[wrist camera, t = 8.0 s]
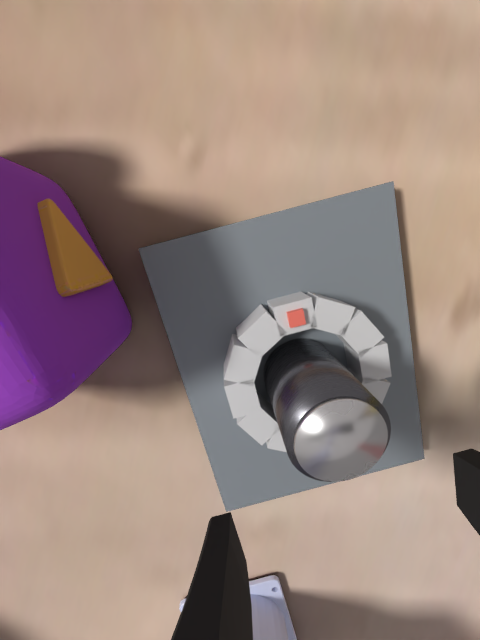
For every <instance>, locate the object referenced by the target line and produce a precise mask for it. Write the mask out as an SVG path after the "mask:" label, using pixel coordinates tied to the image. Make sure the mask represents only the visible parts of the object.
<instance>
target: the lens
mask: <svg viewBox="0 0 480 640" xmlns="http://www.w3.org/2000/svg"><path fill="white" fill-rule="evenodd" d="M263 376H264V382H265V386H266V389H267V392H268V395H269V398H270V401H271V404H272V408H273V411H274V414H275V417H276V420H277V423H278V426H279V429H280V432H281V436H282V439H283V442H284V445H285V448H286V451H287V454H288V457H289V459H290V461H291V463H292V464H293V465H294V467H295V468H296V469H297V470H298V471H300V472H301V473H302V474H304V475H305V476H307V477H309V478H312V479H315V480H319V481H325V482H339V481H345V480H350V479H353V478H355V477H358V476H360V475H362V474H363V473H365V472H367V471H368V470H369V469H371V468H372V467H373V466H374V465H375V464H376V463H377V461H378V460H379V459H380V458H381V456H382V455H383V453H384V452H385V450H386V448H387V446H388V443H389V440H390V435H391V423H390V419H389V416H388V413H387V411H386V410H385V408H384V406H383V405H382V404H381V403H380V402H379V401H378V400H377V399H376V398H375V397H374V396H373V395H372V394H371V393H370V392H369V391H368V390H367V389H366V388H365V387H364V386H363V385H362V384H361V383H360V382H359V381H358V380H357V379H356V378H355V377H354V376H353V374H352V373H351V372H350V371H349V370H348V369H347V368H346V367H345V366H344V365H343V364H342V363H341V362H340V361H339V360H338V359H337V358H336V357H335V356H334V355H333V354H332V353H331V352H330V351H329V350H328V349H327V348H326V347H325V346H324V345H322V344H321V343H319V342H317V341H315V340H311V339H306V338H299V339H293V340H290V341H287V342H285V343H283V344H281V345H280V346H278V347H277V348H276V349H275V350H274V351H273V352H272V353H271V354H270V356H269V357H268V359H267V361H266V363H265V366H264V373H263Z"/></svg>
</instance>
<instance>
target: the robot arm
mask: <svg viewBox="0 0 480 640" xmlns="http://www.w3.org/2000/svg"><path fill="white" fill-rule="evenodd" d="M453 460H454V473H455V486H456V498H457V506H458V507H459V508H460V510H461V511H462V513H463V514H464V515H465V517H466V518H467V519H468V521H469V522H470V523H471V525H472V526H473V527H474V529H475V530H476V531H477V533H478V534H479V535H480V452H478V451H476V450H474V449H469V450H465V451H461V452H457V453H454V454H453ZM180 611H181V615H180V617H179V620H178V623H177V625H176V628H175V631H174V633H173V636H172V639H171V640H297V637H296V634H295V631H294V627H293V624H292V621H291V617H290V614H289V611H288V607H287V604H286V601H285V597H284V594H283V591H282V587H281V584H280V581H279V578H278V577H277V576H276V575H271V576H267V577H263V578H259V579H256V580H252V581H249V579H248V571H247V563H246V559H245V556H244V553H243V550H242V546H241V543H240V540H239V537H238V534H237V531H236V528H235V525H234V522H233V518H232V515H231V512H230V513H226V514H222V515H219V516H215V517H212V518H211V519H210V521H209V524H208V528H207V532H206V536H205V540H204V544H203V547H202V551H201V554H200V557H199V561H198V564H197V567H196V571H195V574H194V577H193V580H192V583H191V586H190V589H189V592H188V595H187V598H185V599H183V600H182V601H181V602H180Z"/></svg>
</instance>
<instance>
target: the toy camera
mask: <svg viewBox="0 0 480 640" xmlns="http://www.w3.org/2000/svg"><path fill="white" fill-rule="evenodd" d="M131 328H132V320H131V316H130V313H129V311H128V308H127V306H126V304H125V302H124V300H123V298H122V296H121V294H120V292H119V290H118V288H117V286H116V284H115V282H114V280H113V278H112V276H111V274H110V272H109V270H108V269H107V267H106V265H105V263H104V261H103V259H102V257H101V255H100V254H99V252H98V250H97V248H96V246H95V244H94V242H93V240H92V238H91V237H90V235H89V233H88V231H87V229H86V227H85V225H84V223H83V221H82V220H81V218H80V216H79V214H78V212H77V210H76V209H75V207H74V205H73V204H72V202H71V200H70V199H69V197H68V196H67V194H66V193H65V192H64V191H63V189H62V188H61V187H60V186H59V185H58V184H56V183H55V182H54V181H52V180H51V179H49V178H47V177H45V176H44V175H41V174H39V173H37V172H35V171H33V170H30V169H28V168H26V167H24V166H21V165H19V164H17V163H14V162H12V161H10V160H7V159H5V158H3V157H0V430H2V429H4V428H7V427H9V426H11V425H14V424H16V423H18V422H20V421H23V420H25V419H27V418H30V417H32V416H34V415H36V414H38V413H40V412H42V411H44V410H46V409H48V408H50V407H52V406H53V405H55V404H57V403H58V402H60V401H61V400H63V399H64V398H65V397H67V396H68V395H69V394H70V393H72V392H73V391H74V390H75V389H76V388H77V387H78V386H79V385H81V384H82V383H83V382H84V381H85V380H86V379H87V378H88V377H89V376H90V375H91V374H92V373H93V372H94V371H95V370H96V369H97V368H98V367H99V366H100V365H101V364H102V363H103V362H104V361H105V360H106V359H107V358H108V357H109V356H110V355H111V354H112V353H113V352H114V351H115V350H116V349H117V348H118V347H119V346H120V345H121V344H122V343H123V342H124V341H125V339H126V338H127V337H128V335H129V333H130V331H131Z"/></svg>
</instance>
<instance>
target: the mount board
mask: <svg viewBox="0 0 480 640" xmlns="http://www.w3.org/2000/svg"><path fill="white" fill-rule="evenodd" d="M139 252H140V255H141V258H142V261H143V264H144V267H145V270H146V273H147V276H148V279H149V282H150V285H151V288H152V291H153V294H154V297H155V300H156V303H157V306H158V309H159V312H160V315H161V318H162V321H163V324H164V327H165V330H166V333H167V336H168V339H169V342H170V345H171V348H172V351H173V354H174V357H175V360H176V363H177V366H178V369H179V372H180V375H181V378H182V380H183V383H184V386H185V389H186V392H187V395H188V398H189V401H190V404H191V407H192V410H193V413H194V416H195V419H196V422H197V425H198V428H199V431H200V434H201V437H202V440H203V443H204V446H205V449H206V452H207V455H208V458H209V461H210V464H211V467H212V470H213V473H214V476H215V479H216V482H217V485H218V488H219V491H220V494H221V497H222V500H223V503H224V506H225V509H226V512H227V511H231V510H235V509H238V508H242V507H246V506H250V505H253V504H257V503H261V502H265V501H268V500H272V499H276V498H280V497H283V496H287V495H291V494H294V493H298V492H302V491H306V490H309V489H313V488H317V487H321V486H324V485H328V484H332V483H336V482H325V481H319V480H315V479H312V478H309V477H307V476H305V475H304V474H302V473H301V472H300V471H298V470H297V469H296V468H295V467H294V465H293V464H292V463H291V461H290V459H289V457H288V454H287V451H286V448H285V445H284V442H283V439H282V436H281V432H280V429H279V426H278V423H277V420H276V417H275V414H274V411H273V408H272V404H271V401H270V398H269V395H268V392H267V389H266V386H265V382H264V376H263V373H264V366H265V363H266V361H267V359H268V357H269V356H270V354H271V353H272V352H273V351H274V350H275V349H276V348H277V347H278V346H280V345H281V344H283V343H285V342H287V341H290V340H293V339H299V338H306V339H311V340H315V341H317V342H319V343H321V344H322V345H324V346H325V347H326V348H327V349H328V350H329V351H330V352H331V353H332V354H333V355H334V356H335V357H336V358H337V359H338V360H339V361H340V362H341V363H342V364H343V365H344V366H345V367H346V368H347V369H348V370H349V371H350V372H351V373H352V374H353V376H354V377H355V378H356V379H357V380H358V381H359V382H360V383H361V384H362V385H363V386H364V387H365V388H366V389H367V390H368V391H369V392H370V393H371V394H372V395H373V396H374V397H375V398H376V399H377V400H378V401H379V402H380V403H381V404H382V405H383V406H384V408H385V410H386V411H387V413H388V416H389V419H390V423H391V435H390V440H389V443H388V446H387V448H386V450H385V452H384V453H383V455H382V456H381V458H380V459H379V460H378V461H377V463H376V464H375V465H374V466H373V467H372V468H371V469H369V470H368V471H367V472H365V473H363V474H362V475H365V474H369V473H373V472H377V471H380V470H384V469H388V468H392V467H395V466H399V465H403V464H407V463H410V462H414V461H418V460H422V459H424V450H423V441H422V432H421V423H420V414H419V405H418V396H417V387H416V379H415V370H414V361H413V352H412V343H411V334H410V325H409V316H408V307H407V298H406V290H405V281H404V272H403V263H402V254H401V245H400V236H399V227H398V218H397V209H396V200H395V192H394V183H393V181H392V182H389V183H385V184H381V185H377V186H373V187H370V188H366V189H362V190H358V191H354V192H351V193H347V194H343V195H339V196H336V197H332V198H328V199H324V200H320V201H317V202H313V203H309V204H305V205H302V206H298V207H294V208H290V209H286V210H283V211H279V212H275V213H271V214H267V215H264V216H260V217H256V218H252V219H249V220H245V221H241V222H237V223H233V224H230V225H226V226H222V227H218V228H215V229H211V230H207V231H203V232H199V233H196V234H192V235H188V236H184V237H181V238H177V239H173V240H169V241H165V242H162V243H158V244H154V245H150V246H146V247H143V248H139ZM362 475H360V476H362Z"/></svg>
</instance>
